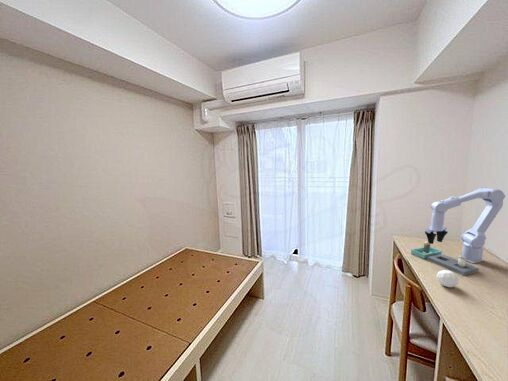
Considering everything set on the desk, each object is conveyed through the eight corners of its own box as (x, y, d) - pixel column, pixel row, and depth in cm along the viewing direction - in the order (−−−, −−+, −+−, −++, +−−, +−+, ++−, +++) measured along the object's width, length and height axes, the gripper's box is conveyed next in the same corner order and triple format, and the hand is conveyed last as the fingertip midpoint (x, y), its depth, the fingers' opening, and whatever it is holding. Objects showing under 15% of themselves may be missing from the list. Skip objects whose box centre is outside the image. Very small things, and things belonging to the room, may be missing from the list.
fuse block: (440, 256, 132) (441, 253, 132) (478, 271, 115) (478, 268, 115) (426, 259, 129) (427, 256, 128) (463, 275, 112) (463, 272, 111)
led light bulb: (425, 252, 137) (426, 240, 136) (430, 254, 134) (431, 242, 133) (421, 253, 136) (423, 241, 135) (426, 255, 133) (428, 243, 132)
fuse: (459, 267, 120) (461, 254, 118) (465, 270, 117) (467, 256, 115) (455, 268, 119) (457, 255, 117) (462, 271, 116) (464, 257, 115)
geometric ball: (445, 292, 103) (439, 282, 100) (436, 278, 109) (431, 268, 107) (464, 288, 99) (459, 278, 97) (454, 274, 106) (449, 264, 104)
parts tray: (427, 250, 141) (428, 246, 141) (441, 255, 134) (441, 251, 133) (411, 253, 137) (411, 249, 136) (424, 259, 129) (424, 254, 129)
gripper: (438, 218, 135) (436, 238, 137) (421, 220, 131) (419, 241, 133) (451, 221, 128) (448, 242, 130) (434, 224, 124) (431, 246, 126)
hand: (435, 242), depth 131 cm, fingers open, 7 cm apart
